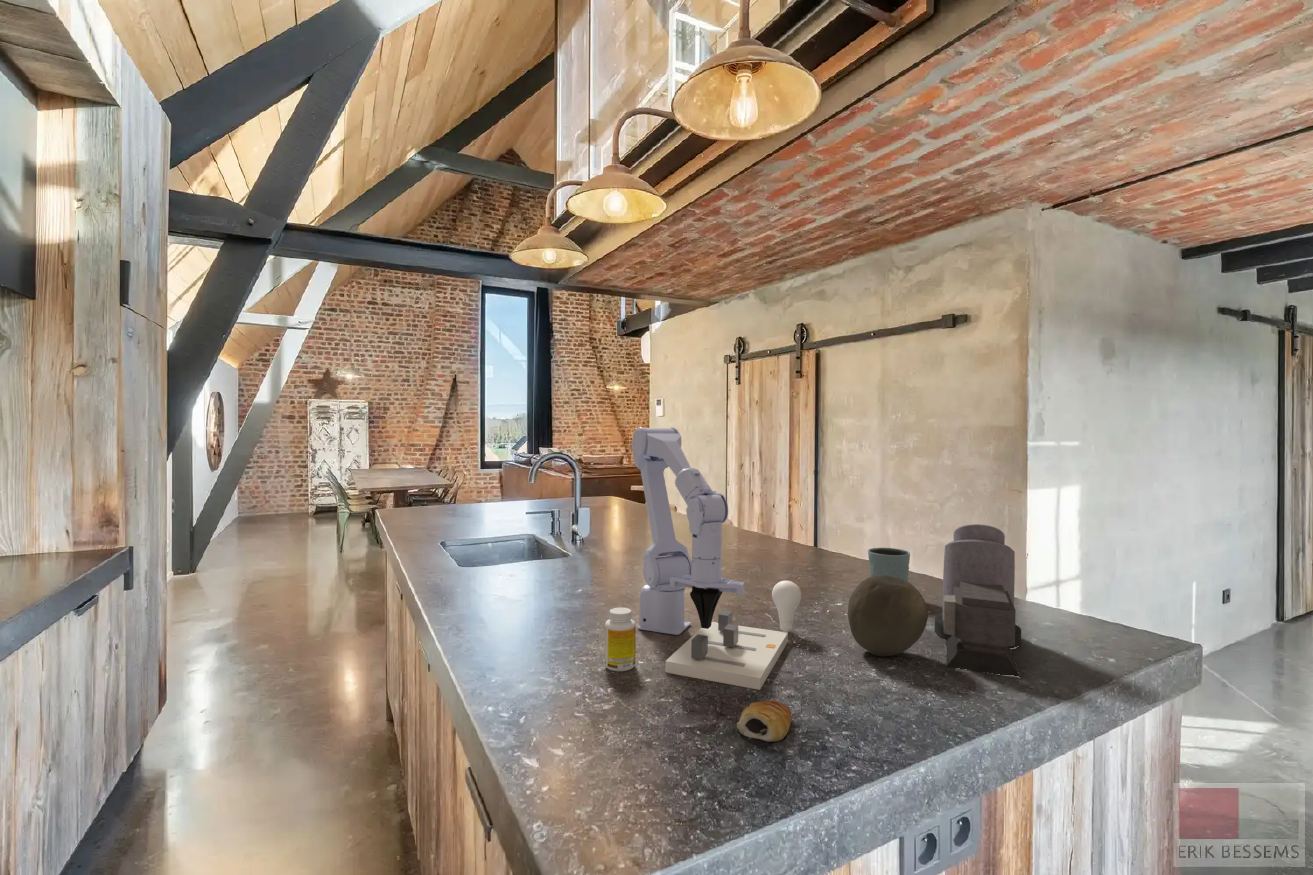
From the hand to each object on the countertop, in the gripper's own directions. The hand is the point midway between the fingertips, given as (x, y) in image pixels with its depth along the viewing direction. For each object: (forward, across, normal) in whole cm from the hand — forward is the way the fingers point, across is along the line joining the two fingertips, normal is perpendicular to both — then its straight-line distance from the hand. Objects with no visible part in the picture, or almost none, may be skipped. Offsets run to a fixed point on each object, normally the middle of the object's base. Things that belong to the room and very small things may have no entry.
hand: (706, 626), depth 115 cm
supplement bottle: (+5, -12, -13) cm, 18 cm away
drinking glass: (+5, +31, +56) cm, 64 cm away
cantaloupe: (+5, +32, +14) cm, 35 cm away
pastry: (+6, +17, -24) cm, 30 cm away
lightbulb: (+5, +12, +18) cm, 22 cm away
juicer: (+5, +49, +27) cm, 56 cm away
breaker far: (+2, +1, +8) cm, 9 cm away
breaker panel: (+5, +5, 0) cm, 7 cm away
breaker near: (+3, +1, -8) cm, 8 cm away
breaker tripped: (+3, +5, 0) cm, 6 cm away
